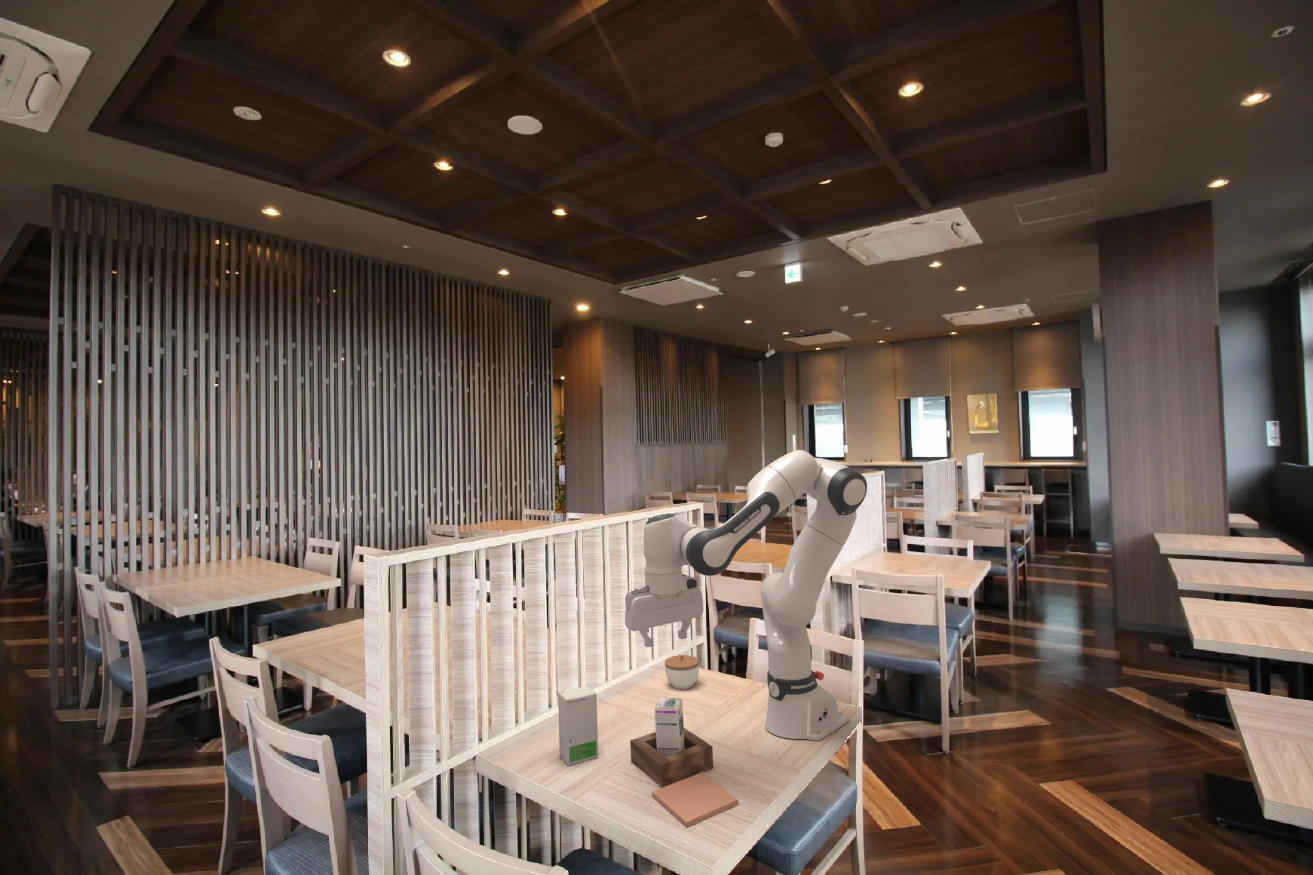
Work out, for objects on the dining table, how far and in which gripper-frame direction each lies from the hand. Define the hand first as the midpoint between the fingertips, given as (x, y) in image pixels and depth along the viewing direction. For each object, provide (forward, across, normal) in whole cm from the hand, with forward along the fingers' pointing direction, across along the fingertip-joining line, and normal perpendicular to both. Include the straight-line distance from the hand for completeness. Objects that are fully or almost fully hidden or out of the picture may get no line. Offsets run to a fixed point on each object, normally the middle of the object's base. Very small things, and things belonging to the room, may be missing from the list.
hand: (666, 642), depth 142 cm
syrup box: (+29, 0, 0) cm, 29 cm away
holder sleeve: (+29, 0, 0) cm, 29 cm away
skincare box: (+29, -16, +17) cm, 37 cm away
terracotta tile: (+29, -4, -15) cm, 33 cm away
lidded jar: (+29, +29, +38) cm, 56 cm away
